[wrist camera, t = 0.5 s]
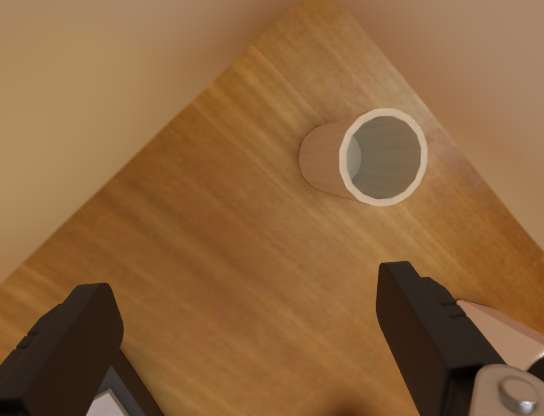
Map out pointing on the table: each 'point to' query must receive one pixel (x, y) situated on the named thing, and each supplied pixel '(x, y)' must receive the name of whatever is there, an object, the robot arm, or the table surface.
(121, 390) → the scale
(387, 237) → the table surface
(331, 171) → the tan hollow cylinder
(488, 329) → the jar
